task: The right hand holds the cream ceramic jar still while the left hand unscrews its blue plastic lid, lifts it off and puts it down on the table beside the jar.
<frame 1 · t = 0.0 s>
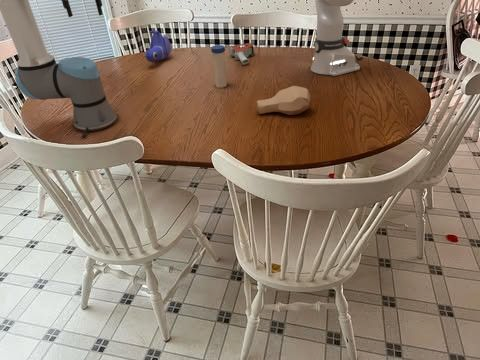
left hand: (85, 15, 157), 28 cm above the table, tool pointing down, fingers open, 13 cm apart
squash: (283, 112, 132), on the table
lid: (217, 47, 147), point 16 cm above the table, screwed on, not yet turned
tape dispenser: (241, 58, 186), on the table
jar: (221, 85, 157), on the table
toy: (158, 62, 189), on the table
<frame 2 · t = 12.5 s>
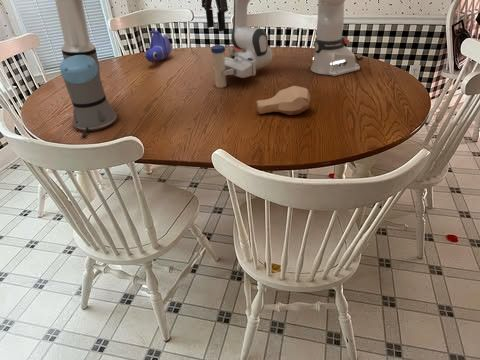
left hand: (216, 28, 143), 24 cm above the table, tool pointing down, fingers open, 7 cm apart
right hand: (218, 71, 152), 6 cm above the table, tool horizontal, fingers closed on jar, 5 cm apart
jar: (221, 85, 157), on the table, touching right hand
everything else where it was.
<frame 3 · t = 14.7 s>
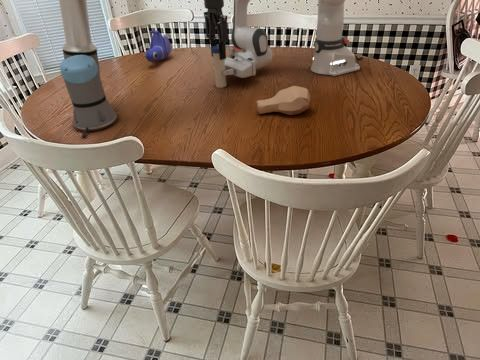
left hand: (218, 57, 149), 12 cm above the table, tool pointing down, fingers closed on lid, 5 cm apart
right hand: (218, 71, 152), 6 cm above the table, tool horizontal, fingers closed on jar, 5 cm apart
lid: (217, 47, 147), point 16 cm above the table, screwed on, not yet turned, touching left hand
jar: (221, 85, 157), on the table, touching right hand
everything else where it was.
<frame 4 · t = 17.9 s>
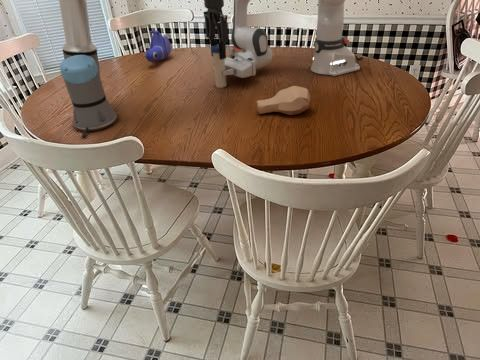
left hand: (218, 57, 149), 13 cm above the table, tool pointing down, fingers closed on lid, 5 cm apart
right hand: (218, 71, 152), 6 cm above the table, tool horizontal, fingers closed on jar, 5 cm apart
lid: (217, 47, 147), point 16 cm above the table, turned 99° so far, risen 0.2 cm, still on its thread, touching left hand
jar: (221, 85, 157), on the table, touching right hand
everything else where it was.
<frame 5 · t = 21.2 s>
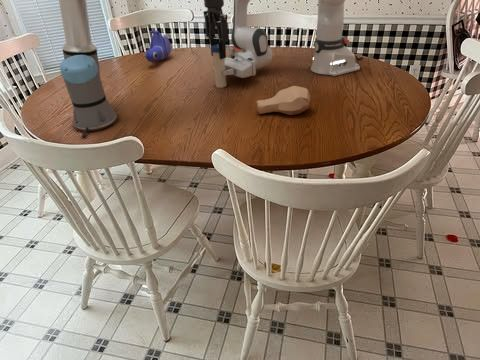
left hand: (218, 56, 149), 13 cm above the table, tool pointing down, fingers closed on lid, 5 cm apart
right hand: (218, 71, 152), 6 cm above the table, tool horizontal, fingers closed on jar, 5 cm apart
lid: (217, 47, 147), point 17 cm above the table, turned 198° so far, risen 0.3 cm, still on its thread, touching left hand
jar: (221, 85, 157), on the table, touching right hand
everything else where it was.
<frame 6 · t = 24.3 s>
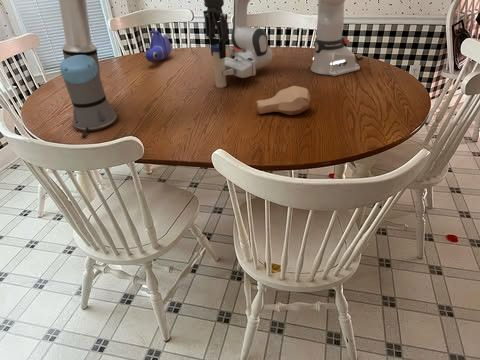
left hand: (218, 56, 149), 13 cm above the table, tool pointing down, fingers closed on lid, 5 cm apart
right hand: (218, 71, 152), 6 cm above the table, tool horizontal, fingers closed on jar, 5 cm apart
lid: (217, 46, 147), point 17 cm above the table, turned 297° so far, risen 0.5 cm, still on its thread, touching left hand
jar: (221, 85, 157), on the table, touching right hand
everything else where it was.
when the left hand's fingers open (0 cm above the table, at t = 31.1 s): lid drops 3 cm, point 1 cm above the table.
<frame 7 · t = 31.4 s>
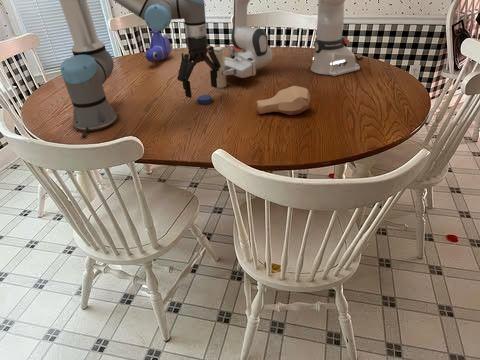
left hand: (201, 91, 141), 4 cm above the table, tool pointing down, fingers open, 13 cm apart
right hand: (218, 71, 152), 6 cm above the table, tool horizontal, fingers closed on jar, 5 cm apart
lid: (204, 98, 143), point 1 cm above the table, off its thread
jar: (221, 85, 157), on the table, touching right hand
everything else where it was.
when the right hand's fingers open (6 cm above the table, at t = 31.8 s): jar stays where it is, on the table.
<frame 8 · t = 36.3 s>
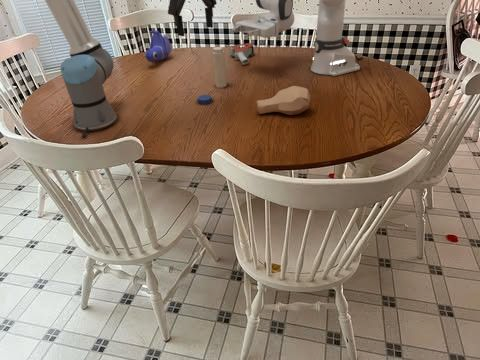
left hand: (196, 31, 128), 27 cm above the table, tool pointing down, fingers open, 13 cm apart
right hand: (241, 32, 152), 20 cm above the table, tool horizontal, fingers open, 8 cm apart
jar: (221, 85, 157), on the table
everything else where it was.
at the end: lid came off its thread; lid point 1.4 cm above the table; the left hand is holding nothing; the right hand is holding nothing; jar tilted 0°; jar moved 0.0 cm from its start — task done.
